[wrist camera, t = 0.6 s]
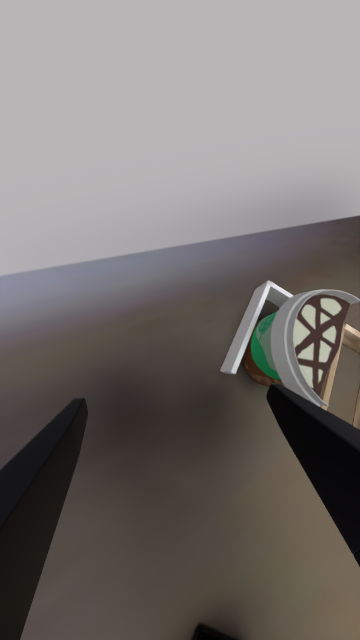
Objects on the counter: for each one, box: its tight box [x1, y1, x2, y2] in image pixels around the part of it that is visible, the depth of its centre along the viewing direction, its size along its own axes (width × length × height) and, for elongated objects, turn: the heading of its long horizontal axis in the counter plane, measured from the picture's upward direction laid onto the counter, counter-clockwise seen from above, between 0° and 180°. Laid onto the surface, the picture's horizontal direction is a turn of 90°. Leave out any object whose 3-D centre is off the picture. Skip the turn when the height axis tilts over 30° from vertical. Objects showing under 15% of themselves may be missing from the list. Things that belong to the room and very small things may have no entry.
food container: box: [241, 290, 360, 407], centre depth 21 cm, size 12×6×10 cm, turn 147°
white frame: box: [220, 280, 293, 374], centre depth 25 cm, size 8×14×3 cm, turn 152°
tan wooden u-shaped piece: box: [319, 323, 360, 429], centre depth 26 cm, size 10×15×3 cm, turn 152°
